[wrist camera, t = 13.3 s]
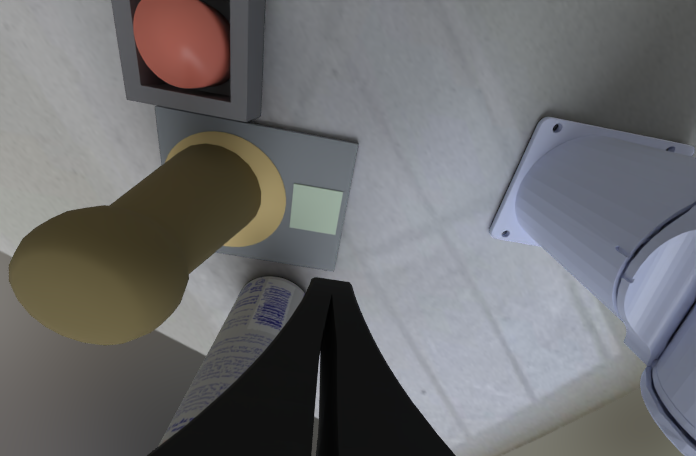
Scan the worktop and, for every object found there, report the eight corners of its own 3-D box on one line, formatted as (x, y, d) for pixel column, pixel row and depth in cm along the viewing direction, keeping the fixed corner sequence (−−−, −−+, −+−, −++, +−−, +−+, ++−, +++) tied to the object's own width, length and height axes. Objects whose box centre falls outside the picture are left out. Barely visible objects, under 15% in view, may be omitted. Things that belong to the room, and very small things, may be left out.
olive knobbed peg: (165, 216, 20) (-16, 348, 10) (170, 129, 17) (-67, 194, 8) (252, 242, 21) (162, 387, 11) (270, 162, 18) (171, 260, 8)
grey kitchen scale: (358, 143, 18) (358, 144, 18) (334, 268, 22) (333, 272, 22) (158, 105, 17) (153, 106, 17) (173, 242, 22) (169, 245, 21)
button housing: (265, -10, 15) (249, -25, 12) (260, 116, 17) (246, 122, 15) (142, -36, 14) (102, -57, 12) (157, 96, 17) (126, 99, 15)
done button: (238, 10, 15) (218, -2, 12) (238, 92, 16) (220, 95, 14) (160, -7, 14) (126, -21, 12) (168, 79, 16) (139, 79, 14)
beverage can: (229, 303, 24) (75, 579, 11) (264, 260, 22) (125, 535, 9) (285, 335, 26) (211, 610, 13) (323, 296, 24) (282, 579, 10)
